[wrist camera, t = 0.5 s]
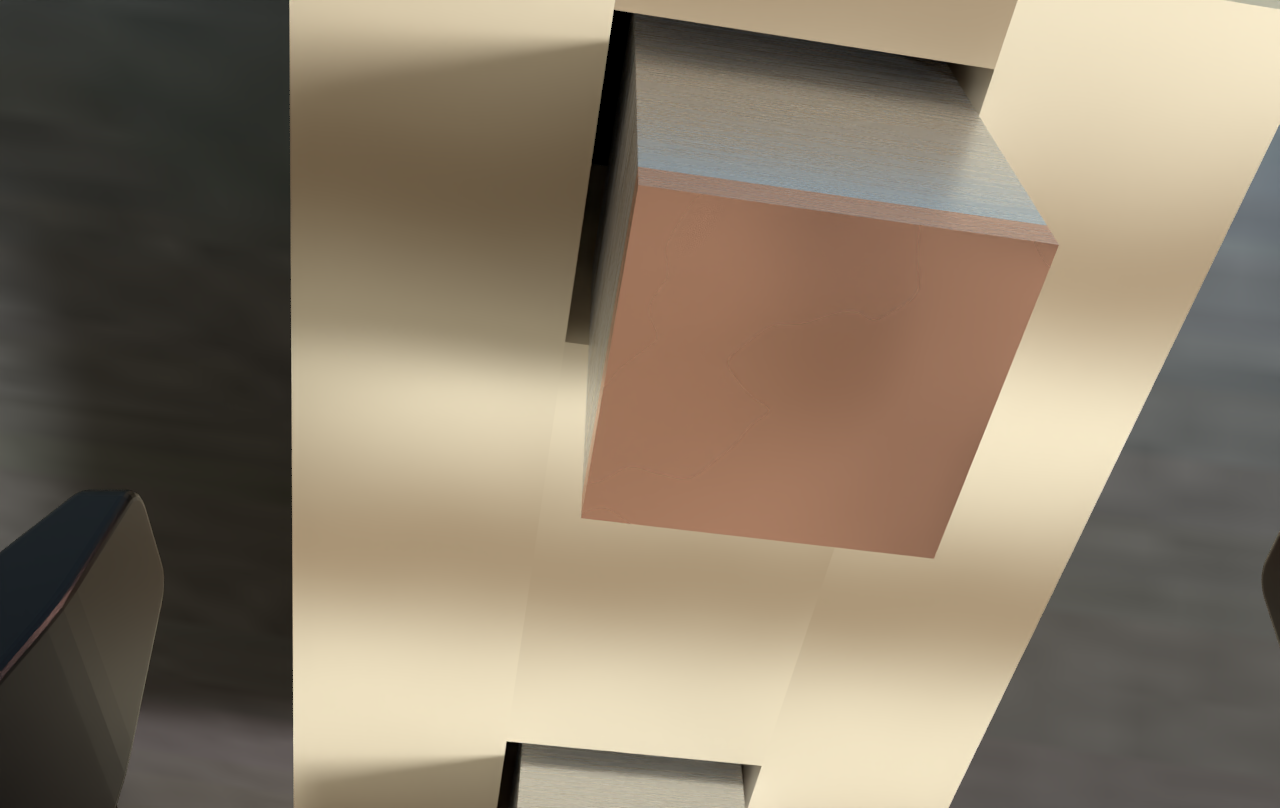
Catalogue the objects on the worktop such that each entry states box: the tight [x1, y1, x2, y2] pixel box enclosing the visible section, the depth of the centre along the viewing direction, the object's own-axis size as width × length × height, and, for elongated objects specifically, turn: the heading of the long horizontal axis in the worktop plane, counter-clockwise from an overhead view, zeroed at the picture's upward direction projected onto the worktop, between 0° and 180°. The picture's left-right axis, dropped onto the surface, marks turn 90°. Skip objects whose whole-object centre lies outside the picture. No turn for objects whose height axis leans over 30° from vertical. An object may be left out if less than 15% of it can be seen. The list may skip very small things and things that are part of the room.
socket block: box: [289, 0, 1280, 808], centre depth 22 cm, size 20×12×6 cm, turn 171°
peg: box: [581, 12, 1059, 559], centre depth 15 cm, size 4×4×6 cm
